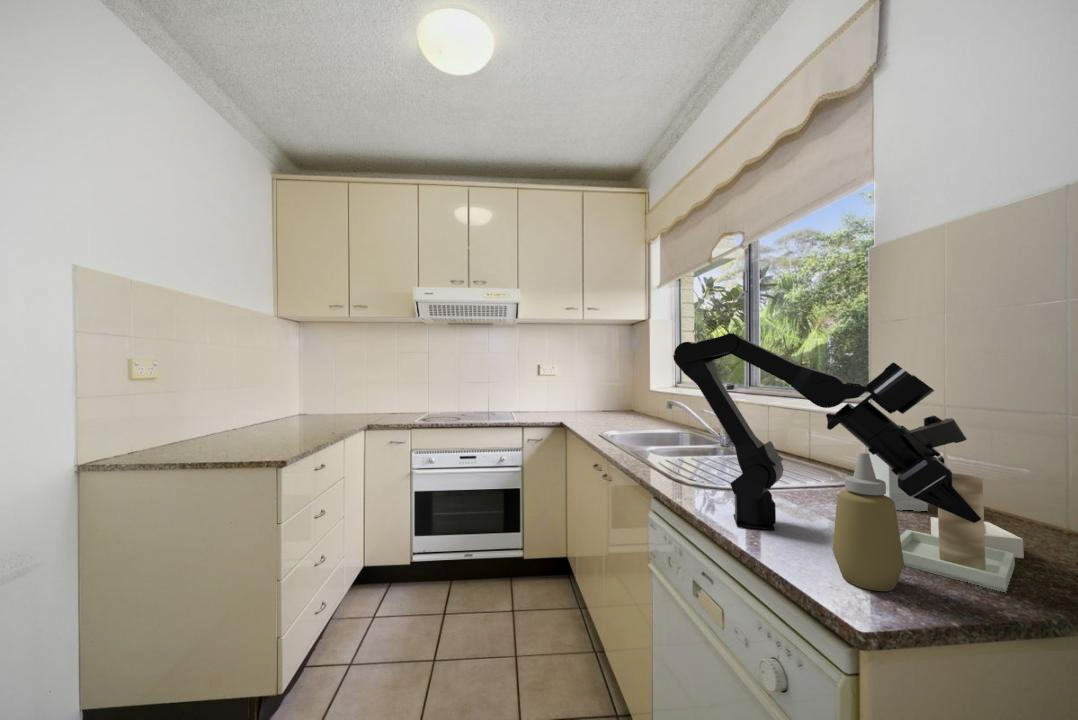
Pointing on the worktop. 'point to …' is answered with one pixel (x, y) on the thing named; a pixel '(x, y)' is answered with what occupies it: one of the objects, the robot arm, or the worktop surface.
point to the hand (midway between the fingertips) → (973, 512)
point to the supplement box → (895, 487)
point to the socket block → (993, 538)
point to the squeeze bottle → (867, 531)
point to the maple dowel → (963, 527)
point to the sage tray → (925, 557)
